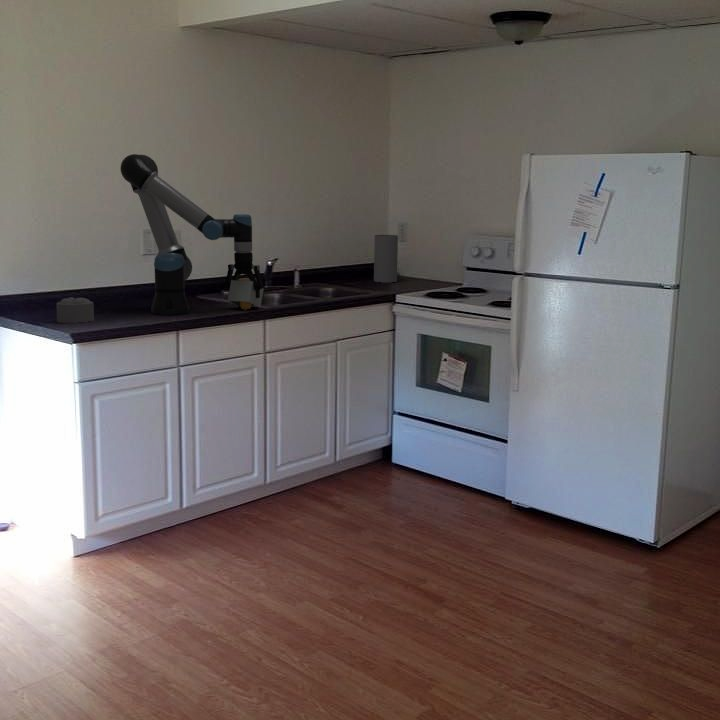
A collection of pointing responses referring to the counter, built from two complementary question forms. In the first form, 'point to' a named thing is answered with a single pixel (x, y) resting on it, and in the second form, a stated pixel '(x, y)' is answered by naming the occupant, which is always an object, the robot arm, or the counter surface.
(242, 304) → the ball
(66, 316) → the lumpy-topped squat cylinder
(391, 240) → the cylinder vase
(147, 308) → the counter surface
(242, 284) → the wide gray carton
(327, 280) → the counter surface
